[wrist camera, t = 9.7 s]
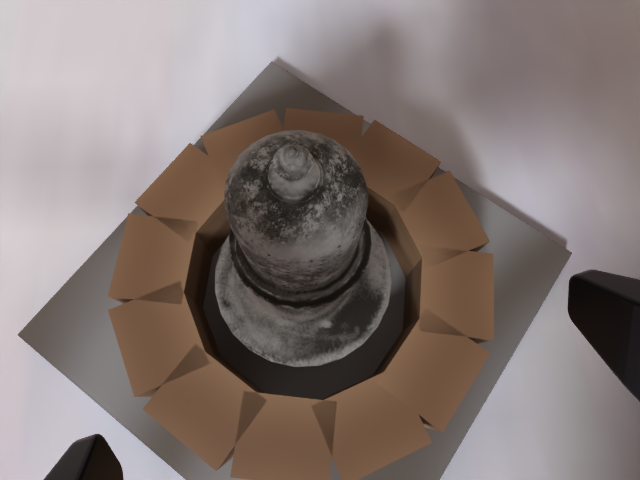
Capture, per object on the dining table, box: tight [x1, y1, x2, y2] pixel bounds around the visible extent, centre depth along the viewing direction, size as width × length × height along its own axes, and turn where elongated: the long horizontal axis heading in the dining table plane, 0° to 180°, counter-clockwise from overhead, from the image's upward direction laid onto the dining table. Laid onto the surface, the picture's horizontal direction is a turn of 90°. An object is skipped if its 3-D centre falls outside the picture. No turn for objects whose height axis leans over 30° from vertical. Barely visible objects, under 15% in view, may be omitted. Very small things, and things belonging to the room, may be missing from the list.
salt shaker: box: [215, 130, 392, 367], centre depth 13 cm, size 6×6×12 cm
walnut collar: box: [18, 62, 572, 480], centre depth 18 cm, size 16×16×4 cm
